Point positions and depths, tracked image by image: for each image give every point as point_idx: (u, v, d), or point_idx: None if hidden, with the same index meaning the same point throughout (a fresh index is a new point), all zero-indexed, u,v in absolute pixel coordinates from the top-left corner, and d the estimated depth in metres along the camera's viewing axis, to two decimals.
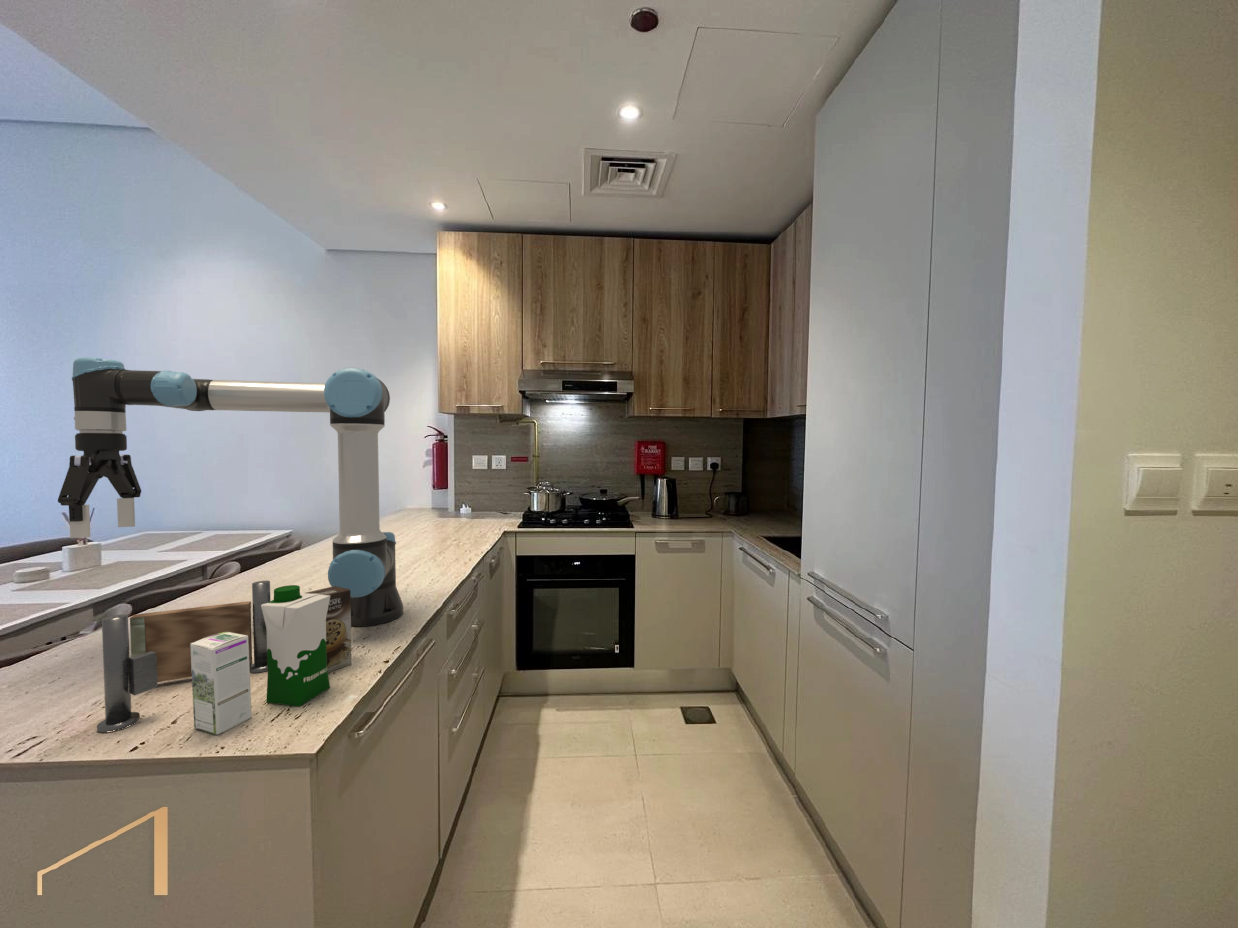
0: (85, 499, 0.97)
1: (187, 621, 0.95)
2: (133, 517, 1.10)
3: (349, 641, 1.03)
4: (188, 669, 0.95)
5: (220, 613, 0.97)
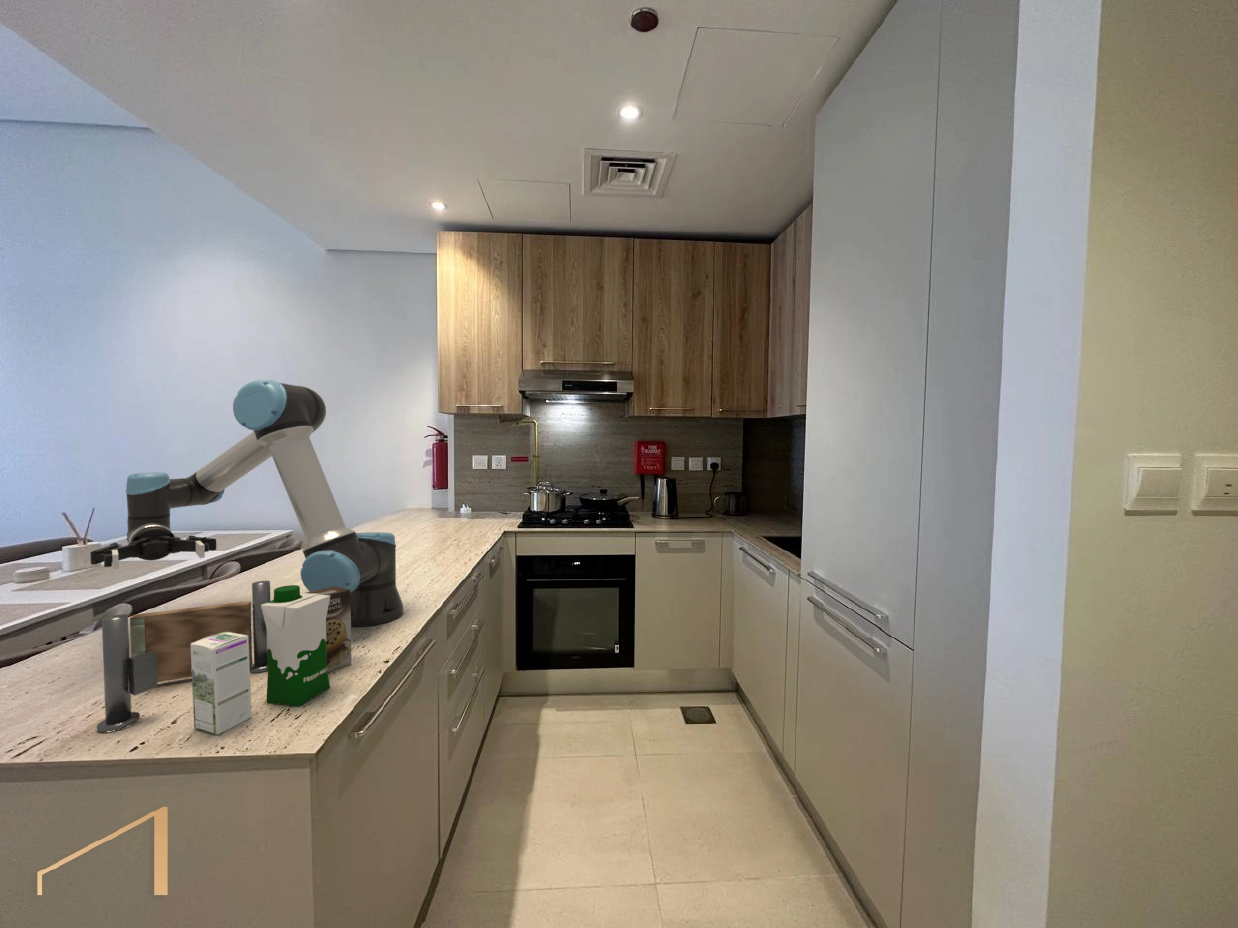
0: (112, 549, 0.98)
1: (187, 621, 0.95)
2: (200, 543, 1.04)
3: (349, 641, 1.03)
4: (188, 669, 0.95)
5: (220, 613, 0.97)
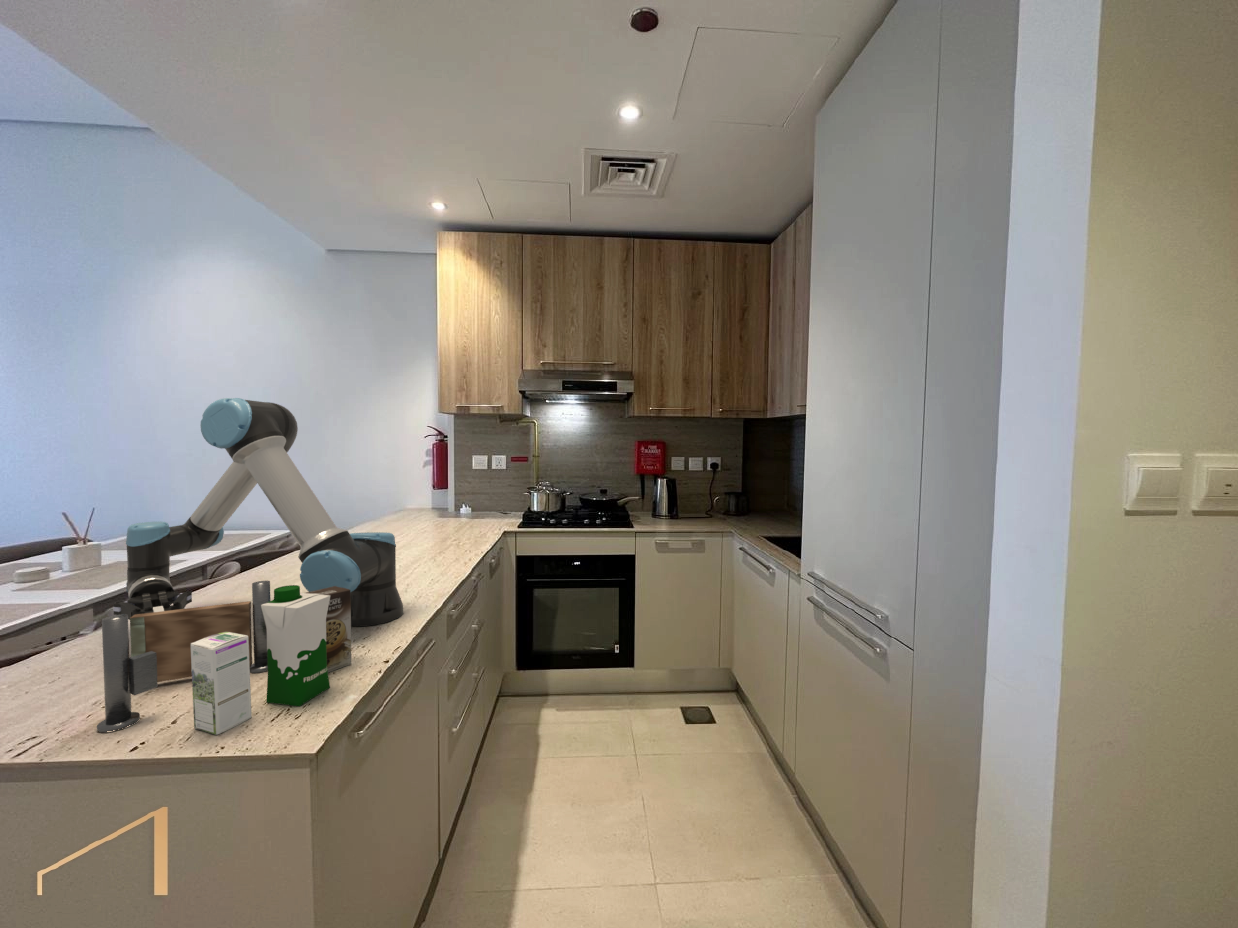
0: (149, 606, 1.02)
1: (187, 621, 0.95)
2: None
3: (349, 641, 1.03)
4: (188, 669, 0.95)
5: (220, 613, 0.97)
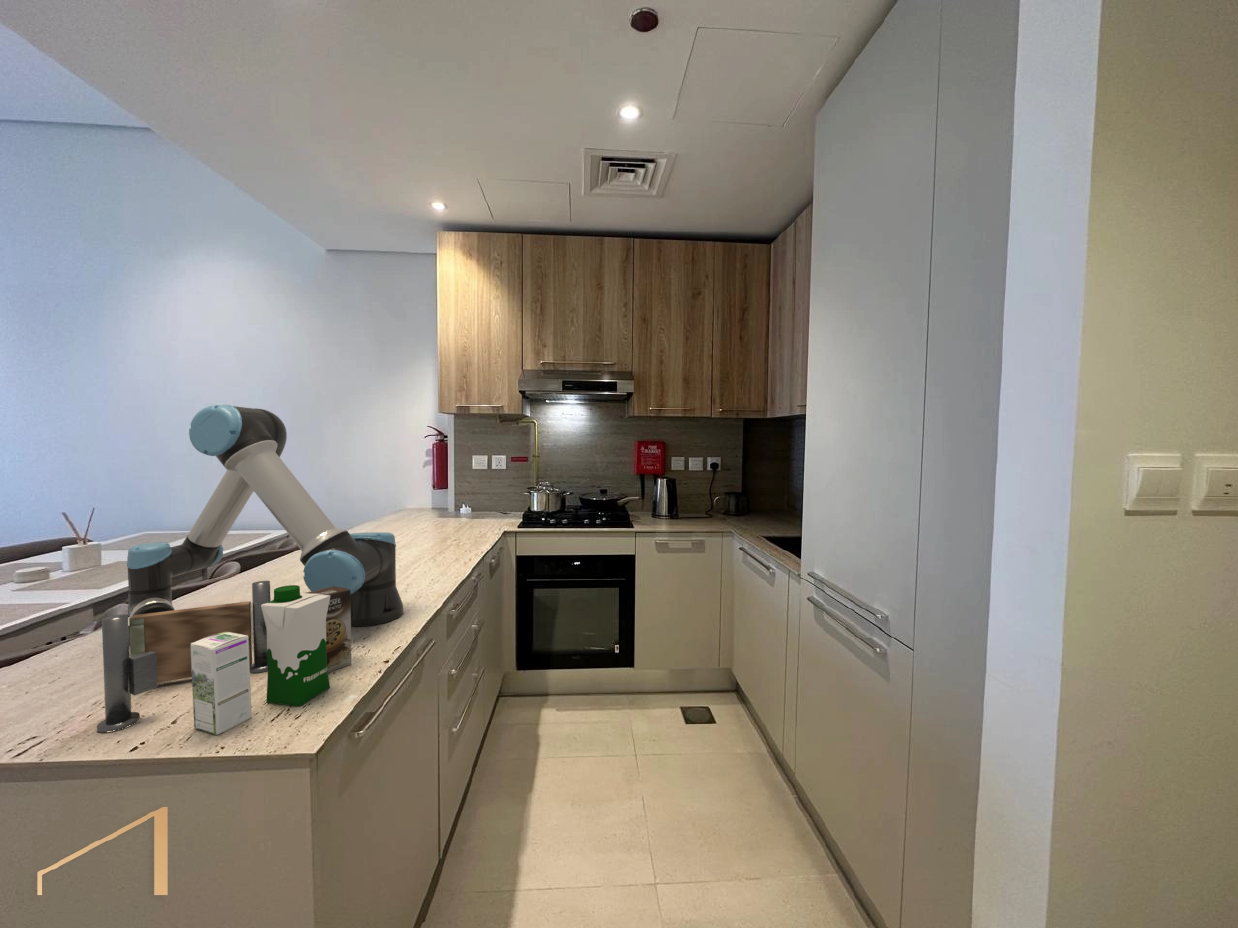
0: None
1: (187, 621, 0.95)
2: None
3: (349, 640, 1.03)
4: (188, 669, 0.95)
5: (220, 613, 0.97)
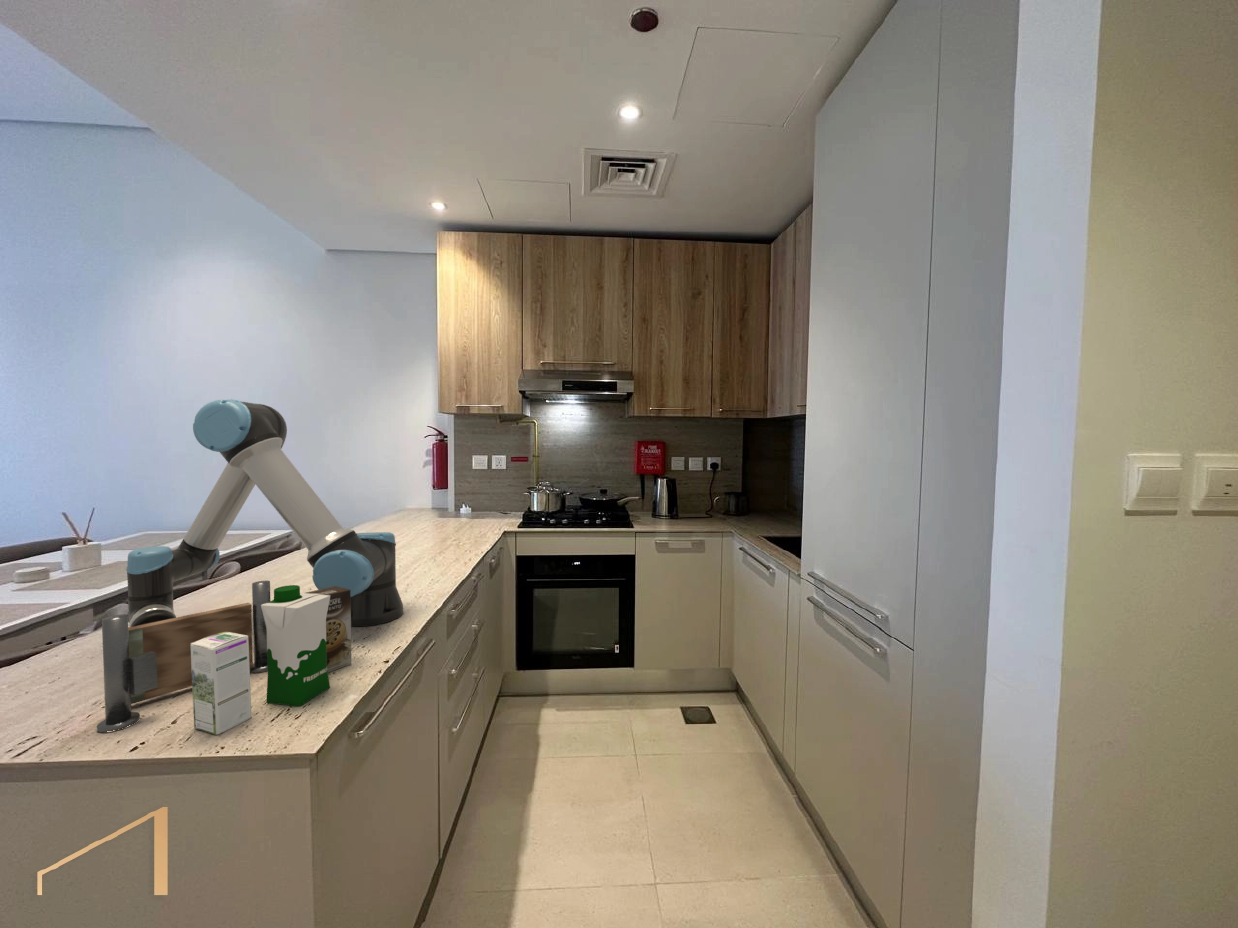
0: None
1: (188, 628, 0.91)
2: None
3: (349, 641, 1.03)
4: (189, 678, 0.91)
5: (223, 616, 0.95)
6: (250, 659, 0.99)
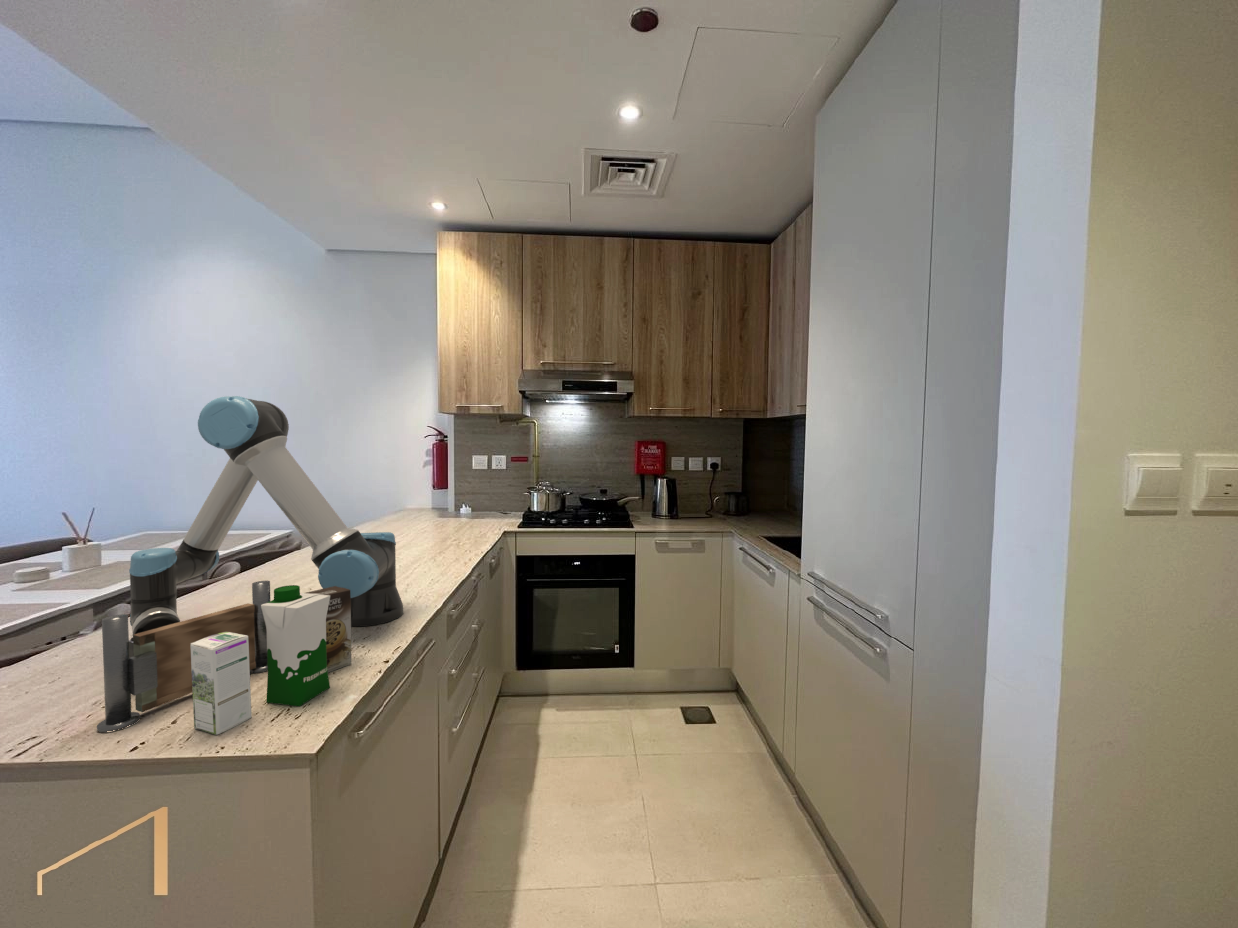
0: None
1: (197, 631, 0.90)
2: None
3: (349, 641, 1.03)
4: None
5: (228, 618, 0.94)
6: (253, 659, 0.99)
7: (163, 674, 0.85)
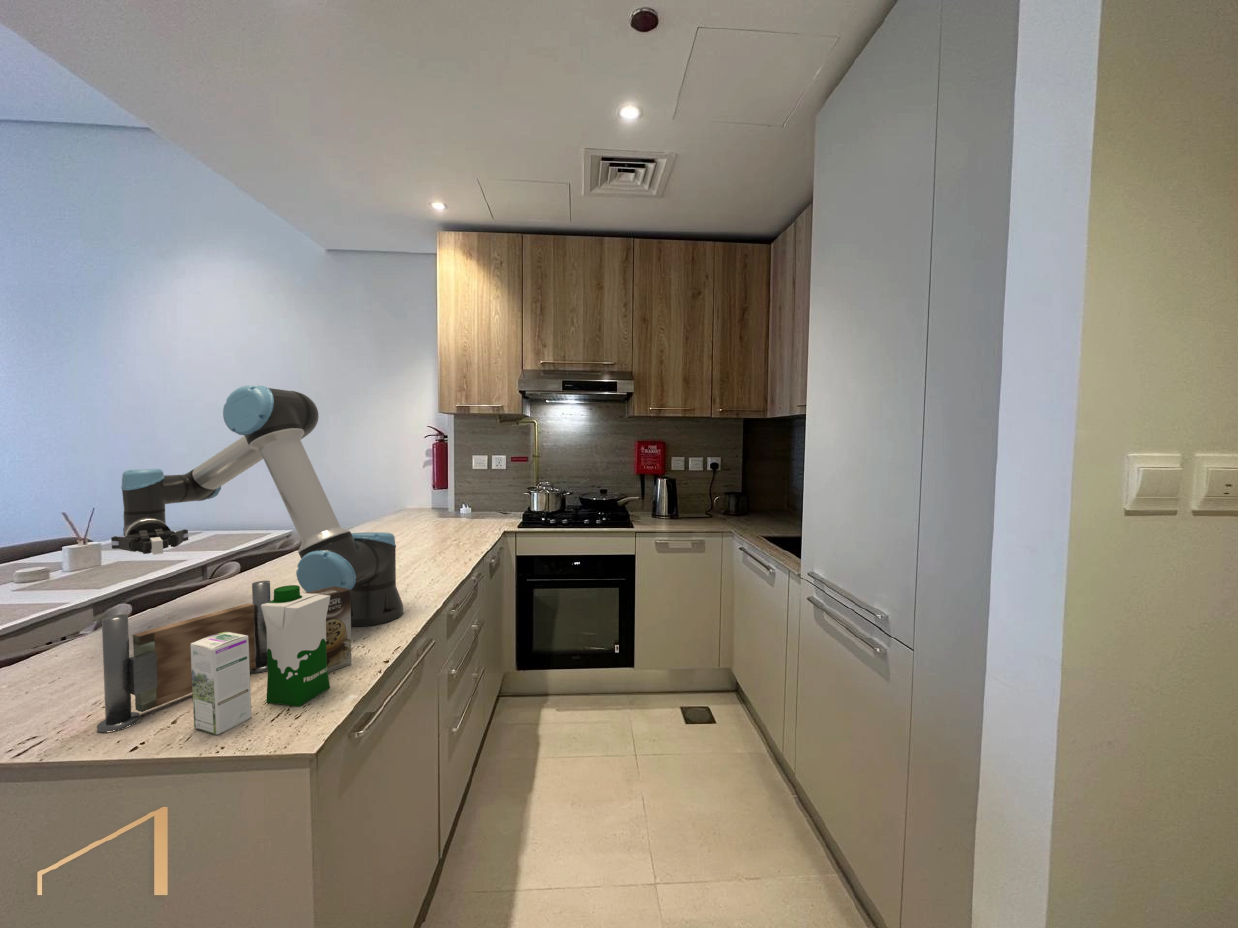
0: (147, 538, 1.04)
1: (196, 631, 0.90)
2: (158, 539, 1.01)
3: (349, 641, 1.03)
4: None
5: (228, 618, 0.94)
6: (253, 659, 0.99)
7: (162, 674, 0.85)
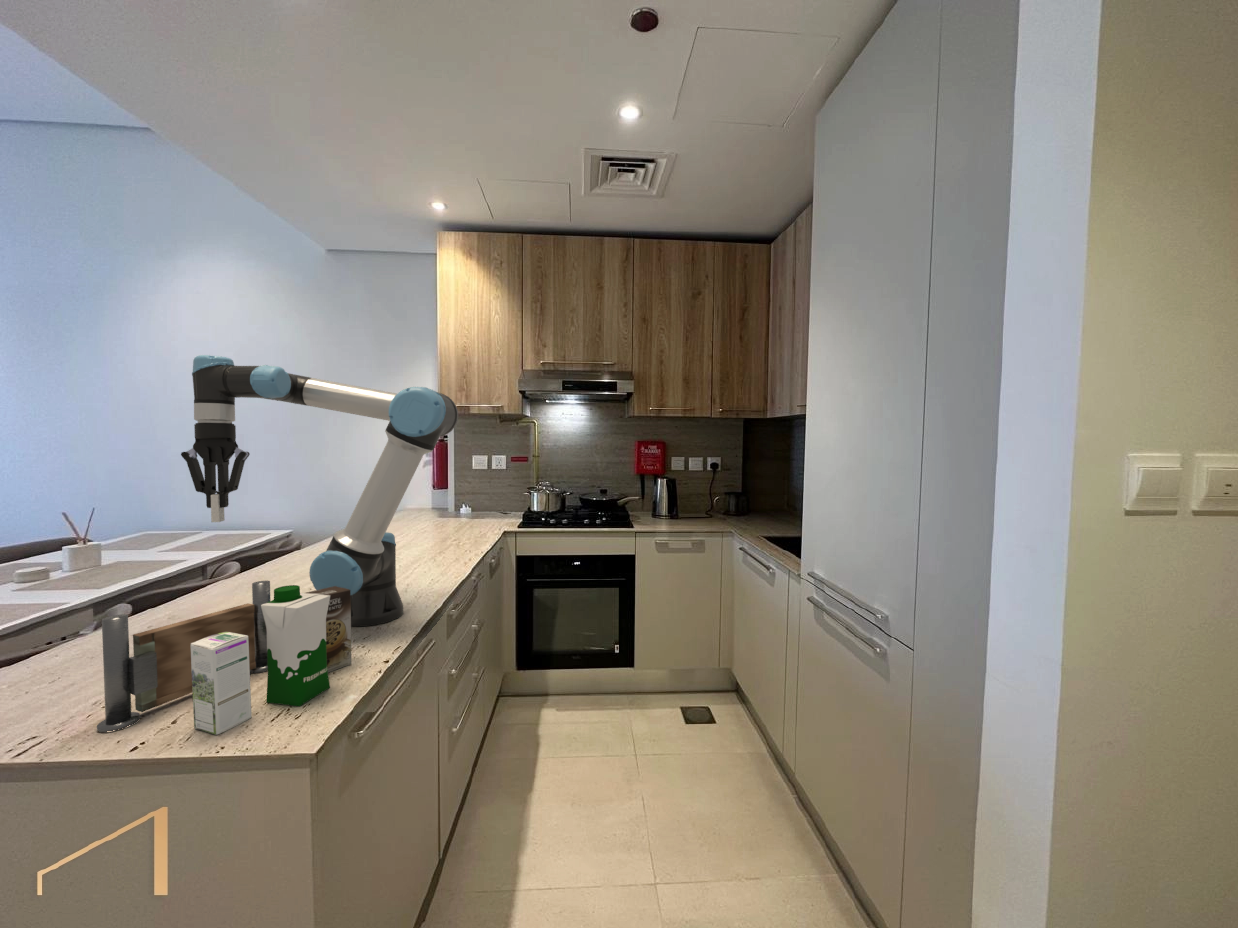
0: (209, 488, 1.14)
1: (196, 631, 0.90)
2: (216, 513, 1.14)
3: (349, 641, 1.03)
4: None
5: (228, 618, 0.94)
6: (253, 659, 0.99)
7: (162, 674, 0.85)
